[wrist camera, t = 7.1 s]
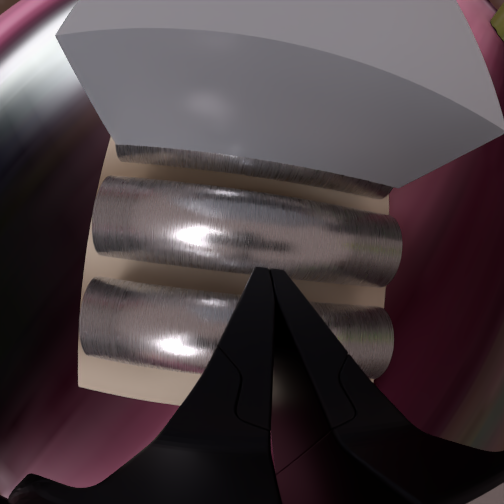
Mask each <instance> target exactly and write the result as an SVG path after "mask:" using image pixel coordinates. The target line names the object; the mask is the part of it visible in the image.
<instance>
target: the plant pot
mask: <svg viewBox="0 0 504 504" xmlns="http://www.w3.org/2000/svg"><path fill="white" fill-rule="evenodd" d="M491 24H492V26H493V27H494V28H495V29H496V30H497V34H498V35H499V36H500V38H501V39H502V40H503V41H504V3H503V4H502V5H501V7H500V8H499V10H498V11H497V12H496V14H495V15H494V16H493V18H492V19H491Z"/></svg>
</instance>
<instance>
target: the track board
mask: <svg viewBox="0 0 504 504" xmlns="http://www.w3.org/2000/svg"><path fill="white" fill-rule="evenodd" d="M110 175H112V176H125V177H136V178H147V179H158V180H168V181H177V182H186V183H195V184H203V185H211V186H219V187H227V188H234V189H242V190H249V191H256V192H263V193H269V194H276V195H282V196H288V197H295V198H301V199H307V200H313V201H318V202H324V203H330V204H335V205H341V206H346V207H351V208H356V209H361V210H367V211H372V212H377V213H381V214H386V215H389V194H388V195H387V196H386V197H385V198H383V199H380V200H378V199H373V198H369V197H364V196H359V195H354V194H350V193H345V192H340V191H335V190H329V189H324V188H319V187H313V186H308V185H302V184H297V183H291V182H285V181H279V180H273V179H266V178H260V177H253V176H246V175H239V174H232V173H224V172H217V171H209V170H200V169H192V168H183V167H173V166H163V165H152V164H140V163H128V162H121V161H120V160H119V158H118V156H117V153H116V147H115V142H114V140H113V139H112V137H111V138H110V142H109V145H108V149H107V153H106V156H105V160H104V164H103V168H102V172H101V177H100V181H99V185H98V190H99V188H100V186H101V184H102V182H103V181H104V179H105V178H106V177H108V176H110ZM98 190H97V193H98ZM96 196H97V195H96ZM96 276H100V277H107V278H113V279H120V280H127V281H134V282H141V283H148V284H155V285H163V286H170V287H178V288H186V289H194V290H202V291H211V292H220V293H229V294H238V295H241V294H242V292H243V290H244V288H245V286H246V284H247V282H248V280H249V278H250V276H251V275H249V274H240V273H231V272H223V271H214V270H206V269H198V268H190V267H182V266H174V265H166V264H158V263H150V262H143V261H135V260H128V259H120V258H113V257H106V256H100V255H99V254H98V253H97V252H96V250H95V247H94V244H93V238H92V220H91V226H90V232H89V238H88V244H87V251H86V258H85V266H84V274H83V284H82V294H81V304H82V300H83V297H84V293H85V291H86V288H87V286H88V284H89V283H90V281H91V280H92V279H93V278H94V277H96ZM292 281H293V282H294V283H295V285H296V286H297V287H298V288H299V290H300V291H301V292H302V293H303V295H304V296H305V297H306V299H307V300H308V301H311V302H324V303H337V304H351V305H366V306H379V307H382V308H383V309H384V301H385V290H386V286H385V287H382V288H377V287H366V286H355V285H344V284H334V283H324V282H314V281H304V280H295V279H292ZM80 309H81V306H80ZM200 377H201V374H192V373H184V372H176V371H168V370H161V369H155V368H148V367H142V366H136V365H130V364H125V363H119V362H114V361H109V360H104V359H99V358H94V357H90V356H87V355H86V354H85V353H84V351H83V349H82V346H81V342H80V336H79V343H78V386H79V387H83V388H87V389H91V390H95V391H100V392H104V393H109V394H114V395H119V396H124V397H129V398H134V399H140V400H146V401H152V402H159V403H165V404H173V405H180V406H181V404H182V403H183V401H184V400H185V399H186V397H187V396H188V394H189V393H190V392H191V390H192V389H193V387H194V386H195V384H196V383H197V381H198V380H199V378H200ZM370 380H371V381H372V382H374V379H370Z"/></svg>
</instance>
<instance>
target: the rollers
mask: <svg viewBox="0 0 504 504" xmlns="http://www.w3.org/2000/svg"><path fill="white" fill-rule="evenodd" d="M115 147H116V153H117V156H118V158H119V160H120V161H121V162H128V163H140V164H152V165H163V166H173V167H183V168H192V169H200V170H209V171H217V172H224V173H232V174H239V175H246V176H253V177H260V178H266V179H273V180H279V181H285V182H291V183H297V184H302V185H308V186H313V187H319V188H324V189H329V190H335V191H340V192H345V193H350V194H354V195H359V196H364V197H369V198H373V199H378V200H380V199H383V198H385V197H386V196H387V195H388V194H389V193H390V192H391V190H392V189H393V187H391V186H387V185H383V184H379V183H375V182H371V181H367V180H363V179H358V178H354V177H349V176H345V175H340V174H336V173H331V172H326V171H321V170H316V169H311V168H306V167H300V166H295V165H289V164H284V163H278V162H272V161H266V160H259V159H253V158H246V157H239V156H232V155H225V154H217V153H209V152H201V151H192V150H182V149H172V148H161V147H149V146H135V145H118V144H115ZM92 238H93V244H94V247H95V250H96V252H97V253H98V254H99V255H100V256H106V257H113V258H120V259H128V260H135V261H143V262H150V263H158V264H166V265H174V266H182V267H190V268H198V269H206V270H214V271H223V272H231V273H240V274H249V275H251V273H252V271H253V269H254V268H255V267H266V268H268V269H271V268H274V269H282V270H284V271H285V272H286V273H287V274H288V276H289V277H290V278H291V279H295V280H304V281H314V282H324V283H334V284H344V285H355V286H366V287H377V288H382V287H385V286H386V285H388V284H389V283H390V282H391V280H392V279H393V278H394V276H395V274H396V272H397V270H398V267H399V264H400V260H401V255H402V235H401V230H400V227H399V225H398V223H397V221H396V220H395V218H393V217H392V216H390V215H386V214H381V213H377V212H372V211H367V210H361V209H356V208H351V207H346V206H341V205H335V204H330V203H324V202H318V201H313V200H307V199H301V198H295V197H288V196H282V195H276V194H269V193H263V192H256V191H249V190H242V189H234V188H227V187H219V186H211V185H203V184H195V183H186V182H177V181H168V180H158V179H147V178H136V177H125V176H112V175H110V176H108V177H106V178H105V179H104V181H103V182H102V184H101V186H100V188H99V190H98V193H97V196H96V199H95V203H94V208H93V215H92ZM240 297H241V295H238V294H229V293H220V292H211V291H202V290H194V289H186V288H178V287H170V286H163V285H155V284H148V283H141V282H134V281H127V280H120V279H113V278H107V277H100V276H96V277H94V278H93V279H92V280H91V281H90V283H89V284H88V286H87V288H86V291H85V293H84V297H83V300H82V304H81V309H80V317H79V336H80V342H81V346H82V349H83V351H84V353H85V354H86V355H87V356H90V357H94V358H99V359H104V360H109V361H114V362H119V363H125V364H130V365H136V366H142V367H148V368H155V369H161V370H168V371H176V372H184V373H192V374H201V375H202V373H203V372H204V370H205V368H206V366H207V364H208V362H209V361H210V359H211V357H212V355H213V352H214V350H215V348H216V347H217V345H218V342H219V340H220V338H221V336H222V334H223V332H224V330H225V328H226V326H227V324H228V322H229V320H230V318H231V315H232V313H233V311H234V309H235V307H236V305H237V303H238V301H239V299H240ZM309 302H310V304H311V305H312V306H313V308H314V309H315V310H316V311H317V313H318V314H319V315H320V316H321V318H322V319H323V320H324V322H325V323H326V324H327V326H328V327H329V328H330V329H331V331H332V332H333V333H334V335H335V336H336V337H337V338H338V340H339V341H340V342H341V344H342V345H343V346H344V347H345V349H346V350H347V351H348V354H350V355H351V356H352V358H353V359H354V360H355V362H356V363H357V364H358V365H359V367H360V368H361V369H362V370H363V372H364V373H365V374H366V375H367V377H368V378H369V379H376V378H378V377H380V376H381V375H382V374H383V373H384V372H385V370H386V369H387V367H388V365H389V363H390V360H391V357H392V353H393V346H394V332H393V326H392V322H391V319H390V317H389V315H388V313H387V312H386V311H385V310H384V309H383V308H382V307H379V306H366V305H351V304H337V303H324V302H311V301H309Z"/></svg>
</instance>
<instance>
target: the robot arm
mask: <svg viewBox="0 0 504 504" xmlns="http://www.w3.org/2000/svg"><path fill="white" fill-rule="evenodd" d="M270 431H271V433H270ZM271 436H272V445H273V455H274V464H275V470H274V465H273V461H272V456H271V442H270V439H271ZM275 473H276V474H275ZM0 504H504V451H500V452H489V451H484V450H480V449H476V448H473V447H469V446H465V445H462V444H459V443H455V442H452V441H449V440H445V439H442V438H439V437H436V436H433V435H430V434H427V433H425V432H423V431H421V430H420V429H418V428H417V427H415V426H414V425H413V424H412V423H411V422H409V421H408V420H407V419H406V418H405V416H404V415H403V414H402V413H401V412H400V411H399V410H398V409H397V408H396V407H395V406H394V405H393V404H392V403H391V402H390V401H389V400H388V398H387V397H386V396H385V395H384V394H383V393H382V392H381V391H380V390H379V389H378V388H377V387H376V386H375V384H374V383H373V382H372V381H371V380H370V379H369V378H368V377H367V375H366V374H365V373H364V372H363V370H362V369H361V368H360V367H359V365H358V364H357V363H356V362H355V360H354V359H353V358H352V356H351V355H350V354H348V351H347V350H346V349H345V347H344V346H343V345H342V344H341V342H340V341H339V340H338V338H337V337H336V336H335V335H334V333H333V332H332V331H331V329H330V328H329V327H328V326H327V324H326V323H325V322H324V320H323V319H322V318H321V316H320V315H319V314H318V313H317V311H316V310H315V309H314V308H313V306H312V305H311V304H310V302H309V301H308V300H307V299H306V297H305V296H304V295H303V293H302V292H301V291H300V290H299V288H298V287H297V286H296V285H295V283H294V282H293V281H292V279H291V278H290V277H289V276H288V274H287V273H286V272H285V271H284V270H282V269H274V268H271V269H268V268H266V267H255V268H254V269H253V271H252V273H251V276H250V278H249V280H248V282H247V284H246V286H245V288H244V290H243V292H242V294H241V297H240V299H239V301H238V303H237V305H236V307H235V309H234V311H233V313H232V315H231V318H230V320H229V322H228V324H227V326H226V328H225V330H224V332H223V334H222V336H221V338H220V340H219V342H218V345H217V347H216V348H215V350H214V352H213V355H212V357H211V359H210V361H209V362H208V364H207V366H206V368H205V370H204V372H203V373H202V375H201V377H200V378H199V380H198V381H197V383H196V384H195V386H194V387H193V389H192V390H191V392H190V393H189V394H188V396H187V397H186V399H185V400H184V401H183V403H182V404H181V406H180V407H179V408H178V410H177V411H176V413H175V414H174V415H173V417H172V418H171V419H170V421H169V422H168V423H167V425H166V426H165V427H164V429H163V430H162V431H161V432H160V433H159V435H158V436H157V437H156V438H155V439H154V440H153V441H152V442H151V443H150V444H149V445H148V446H147V447H145V448H144V449H143V450H142V451H141V452H139V453H138V454H137V455H136V456H134V457H133V458H132V459H131V460H129V461H128V462H127V463H126V464H124V465H123V466H122V467H120V468H119V469H118V470H117V471H115V472H114V473H113V474H111V475H110V476H109V477H107V478H106V479H105V480H104V481H102V482H100V483H99V484H97V485H95V486H91V487H87V488H75V487H70V486H67V485H64V484H61V483H58V482H55V481H53V480H50V479H47V478H44V477H42V476H39V475H35V474H28V475H27V476H26V477H25V478H24V479H23V480H22V481H21V482H20V483H19V484H18V485H17V486H16V487H15V489H14V490H13V491H12V493H11V494H10V496H9V498H8V499H7V498H5V497H3V496H1V495H0Z"/></svg>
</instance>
